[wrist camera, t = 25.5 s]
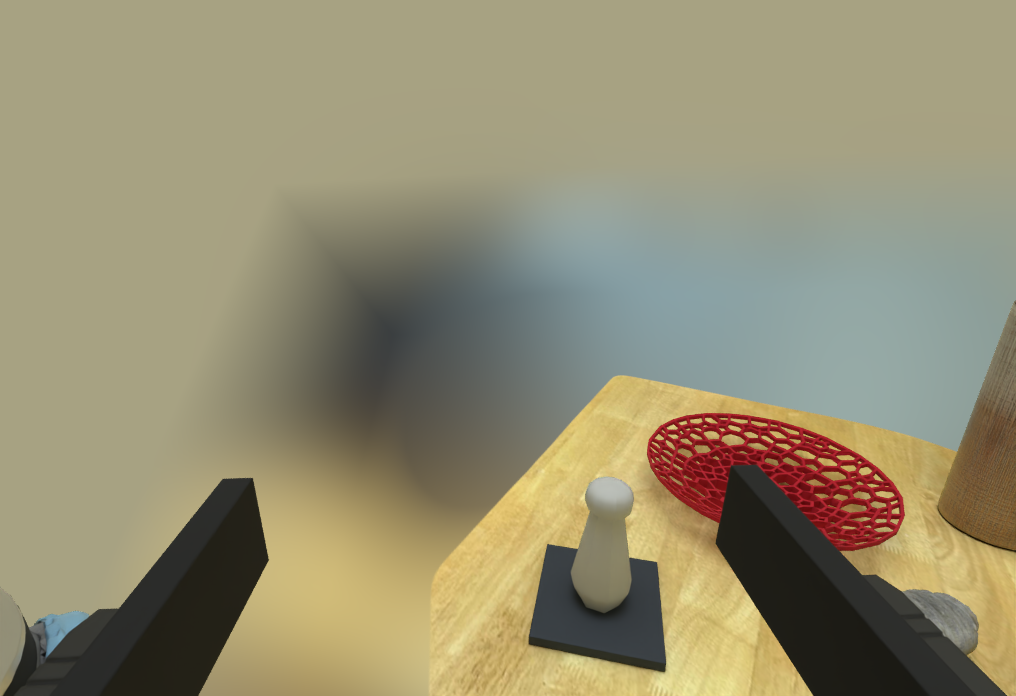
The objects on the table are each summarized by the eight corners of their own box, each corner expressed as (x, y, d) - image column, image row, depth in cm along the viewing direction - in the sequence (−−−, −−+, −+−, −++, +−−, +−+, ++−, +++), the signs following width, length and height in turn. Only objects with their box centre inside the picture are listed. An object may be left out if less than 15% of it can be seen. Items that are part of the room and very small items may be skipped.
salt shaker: (559, 600, 49) (566, 489, 44) (585, 564, 53) (594, 460, 49) (614, 631, 46) (628, 515, 41) (637, 590, 50) (652, 481, 45)
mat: (528, 644, 45) (529, 636, 45) (547, 550, 56) (547, 544, 56) (664, 671, 43) (666, 663, 43) (656, 569, 54) (657, 561, 54)
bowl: (961, 566, 55) (976, 529, 53) (720, 603, 50) (728, 564, 48) (779, 433, 82) (785, 406, 80) (611, 448, 77) (614, 420, 75)
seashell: (792, 607, 46) (855, 555, 42) (892, 629, 50) (957, 583, 46) (837, 682, 41) (913, 630, 37) (945, 700, 44) (1023, 654, 41)
